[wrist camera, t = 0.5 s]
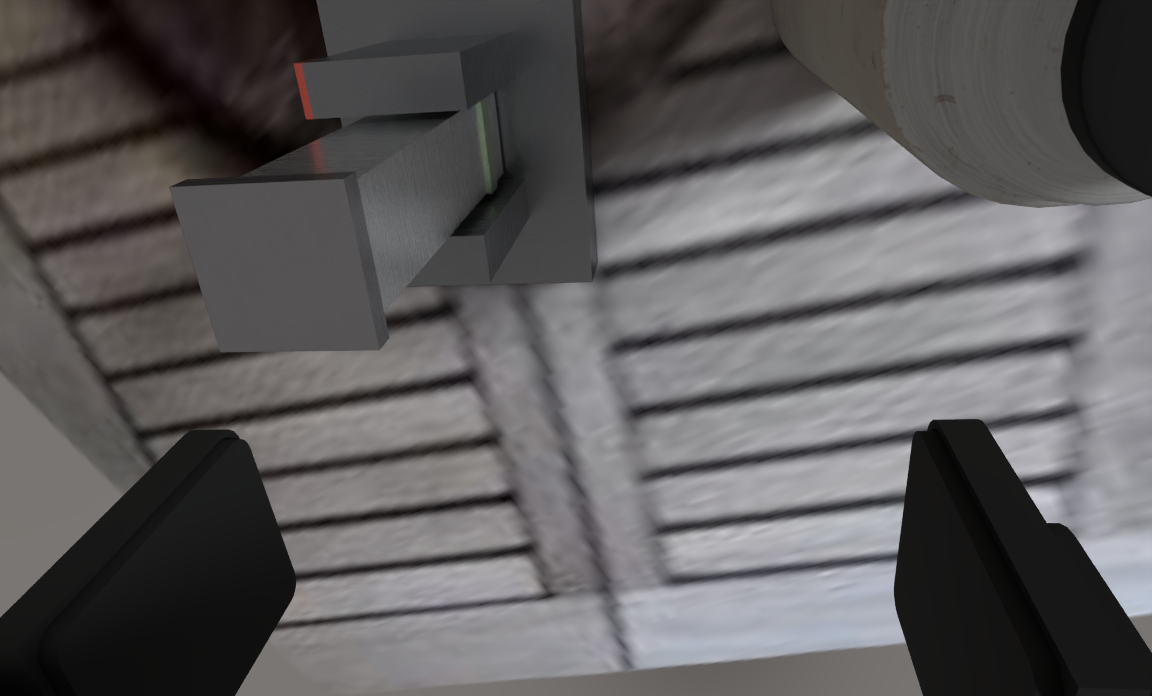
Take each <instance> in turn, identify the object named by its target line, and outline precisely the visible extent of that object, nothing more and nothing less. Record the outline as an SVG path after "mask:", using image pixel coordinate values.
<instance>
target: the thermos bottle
mask: <svg viewBox="0 0 1152 696" xmlns="http://www.w3.org/2000/svg"><path fill="white" fill-rule="evenodd" d="M772 10H773V15H774V20H775V25H776V27H777V30H778V32H779V35H780V37H781V40H782V41H783V43H784V44H785V46H786V47H787V49H788V50H789V52H790V53H791V54H792V55H793V56H794V57H795V58H796V59H797V60H798V61H799V62H800V63H801V64H802V65H803V66H805V67H806V68H807V69H808V70H809V71H810V72H812V73H814V74H815V75H816V76H817V77H819V78H820V79H821V80H822V81H823V82H824V83H825V84H827V85H828V86H829V87H830V88H832V89H833V90H834V91H835V92H837V93H838V94H839V95H840V96H842V97H843V98H844V99H845V100H847V101H848V102H849V103H850V104H851V105H853V106H854V107H855V108H856V109H857V110H859V111H860V112H861V113H862V114H863V115H865V116H866V117H867V118H868V119H870V120H871V121H872V122H873V123H874V124H876V125H877V126H878V127H879V128H881V129H882V130H883V131H884V132H885V133H887V134H888V135H889V136H890V137H892V138H893V139H894V140H895V141H896V142H898V143H899V144H900V145H901V146H903V147H904V148H905V149H906V150H907V151H909V152H910V153H911V154H912V155H914V156H915V157H916V158H917V159H918V160H920V161H921V162H922V163H923V164H925V165H926V166H927V167H928V168H929V169H931V170H932V171H933V172H934V173H936V174H937V175H938V176H940V177H941V178H943V179H945V180H947V181H948V182H950V183H952V184H953V185H955V186H957V187H959V188H960V189H962V190H964V191H966V192H967V193H969V194H972V195H976V196H979V197H982V198H985V199H988V200H991V201H994V202H998V203H1001V204H1009V205H1018V206H1027V207H1036V208H1041V207H1055V206H1069V205H1078V204H1085V205H1109V204H1124V203H1133V202H1137V201H1141V200H1145V199H1150V198H1152V0H772Z"/></svg>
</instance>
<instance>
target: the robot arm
mask: <svg viewBox="0 0 1152 696" xmlns="http://www.w3.org/2000/svg"><path fill="white" fill-rule="evenodd" d="M295 588H296V576H295V572H294V569H293V566H292V564H291V561H290V558H289V555H288V552H287V550H286V547H285V544H284V541H283V538H282V536H281V533H280V530H279V527H278V524H277V522H276V519H275V516H274V513H273V510H272V508H271V505H270V502H269V499H268V496H267V494H266V491H265V488H264V485H263V482H262V480H261V477H260V474H259V471H258V468H257V466H256V463H255V460H254V457H253V454H252V452H251V449H250V447H249V445H248V443H247V442H246V441H245V440H242V439H240V438H239V436H238V435H237V434H236V433H235V432H234V431H231V430H193V431H189V432H188V433H187V434H185V435H184V436H183V437H182V438H181V439H180V440H179V441H178V442H177V443H176V444H175V445H174V446H173V447H172V448H171V449H170V450H169V451H168V452H167V453H166V454H165V455H164V456H163V457H162V458H161V459H160V460H159V461H158V462H157V463H156V464H155V465H154V466H153V467H152V468H151V469H150V470H149V471H148V472H147V473H146V474H145V475H144V476H143V477H142V478H141V479H140V480H139V481H138V482H137V483H136V484H135V485H134V486H133V487H132V488H131V489H130V490H129V491H127V492H126V493H125V494H124V495H123V496H122V497H121V498H120V499H119V500H118V502H116V503H115V504H114V506H112V507H111V508H110V509H109V510H108V511H107V512H106V513H105V514H104V515H103V516H102V517H101V518H100V519H99V520H98V521H97V522H96V523H95V524H94V525H93V526H92V527H91V528H90V529H89V530H88V531H87V532H86V533H85V534H84V535H83V536H82V537H81V538H80V539H79V540H78V541H77V542H76V543H75V544H74V545H73V546H72V547H71V548H70V549H69V550H68V551H67V552H66V553H65V554H64V555H63V556H62V557H61V558H60V559H59V560H58V561H57V562H56V563H55V564H54V565H53V566H52V567H51V568H50V569H49V570H48V571H47V572H46V573H45V574H44V575H43V576H42V577H41V578H40V579H39V580H38V581H37V582H36V583H35V584H34V585H33V586H32V587H31V588H30V589H29V590H28V591H27V592H26V593H25V594H24V595H23V596H22V597H21V598H20V599H19V600H18V601H17V602H16V603H15V604H14V605H13V606H12V607H11V608H10V609H9V610H8V611H7V612H6V613H5V614H4V615H2V617H1V618H0V696H235V695H236V693H237V691H238V689H239V688H240V686H241V685H242V683H243V681H244V679H245V678H246V676H247V674H248V673H249V671H250V669H251V668H252V666H253V664H254V663H255V661H256V659H257V657H258V656H259V654H260V653H261V651H262V649H263V647H264V646H265V644H266V642H267V641H268V639H269V637H270V636H271V634H272V632H273V631H274V629H275V627H276V626H277V624H278V622H279V621H280V619H281V617H282V615H283V614H284V612H285V610H286V609H287V607H288V605H289V604H290V602H291V600H292V598H293V596H294V592H295ZM894 598H895V606H896V611H897V615H898V618H899V621H900V624H901V627H902V631H903V634H904V637H905V640H906V643H907V646H908V650H909V652H910V656H911V659H912V662H913V665H914V668H915V671H916V675H917V678H918V681H919V684H920V687H921V690H922V694H923V696H1152V653H1151V651H1150V649H1149V648H1148V647H1147V645H1146V643H1145V642H1144V641H1143V639H1142V637H1141V636H1140V634H1139V633H1138V631H1137V630H1136V628H1135V627H1134V625H1133V624H1132V622H1131V621H1130V619H1129V617H1128V616H1127V614H1126V613H1125V611H1124V610H1123V608H1122V607H1121V605H1120V604H1119V602H1118V601H1117V599H1116V598H1115V596H1114V595H1113V593H1112V592H1111V590H1110V589H1109V587H1108V586H1107V584H1106V582H1105V581H1104V579H1103V578H1102V576H1101V575H1100V573H1099V572H1098V570H1097V569H1096V567H1095V566H1094V564H1093V563H1092V561H1091V560H1090V558H1089V557H1088V555H1087V554H1086V552H1085V551H1084V549H1083V547H1082V546H1081V544H1080V543H1079V541H1078V540H1077V538H1076V537H1075V536H1074V534H1073V533H1072V532H1071V531H1070V530H1069V529H1068V527H1066V526H1064V525H1062V524H1060V523H1046V521H1045V520H1044V518H1043V516H1042V515H1041V513H1040V511H1039V510H1038V508H1037V507H1036V505H1035V503H1034V502H1033V500H1032V499H1031V497H1030V495H1029V494H1028V492H1027V491H1026V489H1025V487H1024V486H1023V484H1022V483H1021V481H1020V479H1019V478H1018V476H1017V475H1016V473H1015V471H1014V470H1013V468H1012V467H1011V465H1010V463H1009V462H1008V460H1007V459H1006V457H1005V455H1004V454H1003V452H1002V451H1001V449H1000V447H999V446H998V444H997V443H996V441H995V439H994V438H993V436H992V434H991V433H990V431H989V430H988V428H987V426H986V425H985V424H984V423H983V421H982V420H979V419H956V420H933V421H931V422H930V424H929V426H928V430H927V431H917V432H915V434H914V436H913V440H912V447H911V455H910V463H909V471H908V479H907V487H906V494H905V502H904V510H903V518H902V526H901V534H900V542H899V550H898V558H897V566H896V574H895V582H894Z"/></svg>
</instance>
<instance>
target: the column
mask: <svg viewBox="0 0 1152 696" xmlns="http://www.w3.org/2000/svg"><path fill="white" fill-rule="evenodd" d="M502 175H503V164H502V156H501V147H500V138H499V130H498V121H497V113H496V104H495V96H494V92H493V93H492V94H490V95H489V96H487V97H486V98H484V99H483V100H481V101H480V102H478V103H477V104H475V105H474V106H472V107H471V108H469V109H468V110H458V111H441V112H424V113H407V114H391V115H374V116H366V117H364V118H362V119H359V120H357V121H355V122H353V123H351V124H349V125H347V126H345V127H343V128H341V129H339V130H336V131H334V132H332V133H330V134H328V135H326V136H324V137H322V138H320V139H318V140H316V141H313V142H311V143H309V144H307V145H305V146H303V147H301V148H299V149H297V150H295V151H293V152H290V153H288V154H286V155H284V156H282V157H280V158H278V159H276V160H274V161H272V162H270V163H267V164H265V165H263V166H261V167H259V168H257V169H255V170H253V171H251V172H249V173H246V174H244V175H242V176H240V177H229V178H208V179H187V180H184V181H182V182H180V183H177V184H175V185H173V186H171V187H169V189H170V192H171V195H172V199H173V202H174V205H175V208H176V211H177V215H178V218H179V221H180V224H181V227H182V231H183V234H184V237H185V240H186V243H187V247H188V250H189V253H190V256H191V259H192V263H193V266H194V269H195V272H196V275H197V279H198V282H199V285H200V288H201V291H202V295H203V298H204V301H205V304H206V307H207V311H208V314H209V317H210V320H211V323H212V327H213V330H214V333H215V336H216V339H217V342H218V346H219V349H220V352H272V351H351V350H380V349H381V348H382V346H383V345H384V344H385V343H386V341H387V340H388V339H389V333H388V328H387V323H386V319H385V314H384V312H385V311H386V310H387V309H388V308H389V307H390V305H391V304H392V303H393V302H394V301H395V300H396V298H397V297H398V296H399V295H400V294H401V293H402V291H403V290H404V289H405V288H406V287H407V286H408V284H409V283H410V282H411V281H412V280H413V279H414V277H415V276H416V275H417V274H418V273H419V272H420V270H421V269H422V268H423V267H424V266H425V265H426V263H427V262H428V261H429V260H430V259H431V258H432V256H433V255H434V254H435V253H436V252H437V250H438V249H439V248H440V247H441V246H442V245H443V243H444V242H445V241H446V240H447V239H448V238H449V236H450V235H451V234H452V233H453V232H454V231H455V229H456V228H457V227H458V226H459V225H460V224H461V222H462V221H463V220H464V219H465V218H466V217H467V215H468V214H469V213H470V212H471V211H472V210H473V208H474V207H475V206H476V205H477V204H478V203H479V201H480V200H481V199H482V198H483V197H484V196H485V194H493V192H494V191H495V190H496V189H497V187H498V184H497V180H498V179H499V178H500V177H501V176H502Z"/></svg>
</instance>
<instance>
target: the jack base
mask: <svg viewBox="0 0 1152 696" xmlns="http://www.w3.org/2000/svg"><path fill="white" fill-rule="evenodd" d="M316 1H317V6H318V11H319V16H320V21H321V25H322V30H323V35H324V40H325V45H326V50H327V55H328V56H327V57H323V58H318V59H310V60H306V61H302V62H298V63H294V68H295V72H296V77H297V81H298V86H299V90H300V94H301V99H302V103H303V108H304V112H305V117H306V119H323V118H341V123H342V128H343V127H345V126H347V125H349V124H351V123H353V122H355V121H357V120H359V119H362V118H364V117H366V116H374V115H391V114H407V113H424V112H441V111H458V110H468V109H469V108H471V107H472V106H474V105H475V104H477V103H478V102H480V101H481V100H483V99H484V98H486V97H487V96H489V95H490V94H492V93H493V92H494V96H495V104H496V113H497V121H498V130H499V138H500V147H501V156H502V164H503V175H502V176H501V177H500V178H499V179H498V180H497V184H498V187H497V189H496V190H495V191H494V192H493V194H485V196H484V197H483V198H482V199H481V200H480V201H479V203H478V204H477V205H476V206H475V207H474V208H473V210H472V211H471V212H470V213H469V214H468V215H467V217H466V218H465V219H464V220H463V221H462V222H461V224H460V225H459V226H458V227H457V228H456V229H455V231H454V232H453V233H452V234H451V235H450V236H449V238H448V239H447V240H446V241H445V242H444V243H443V245H442V246H441V247H440V248H439V249H438V250H437V252H436V253H435V254H434V255H433V256H432V258H431V259H430V260H429V261H428V262H427V263H426V265H425V266H424V267H423V268H422V269H421V270H420V272H419V273H418V274H417V275H416V276H415V277H414V279H413V280H412V281H411V282H410V283H409V284H408V286H407V287H414V286H454V285H494V284H534V283H573V282H592V281H593V278H594V274H595V270H596V267H597V263H598V258H597V243H596V228H595V212H594V197H593V182H592V167H591V152H590V137H589V121H588V106H587V91H586V76H585V61H584V46H583V30H582V15H581V0H316Z"/></svg>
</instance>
